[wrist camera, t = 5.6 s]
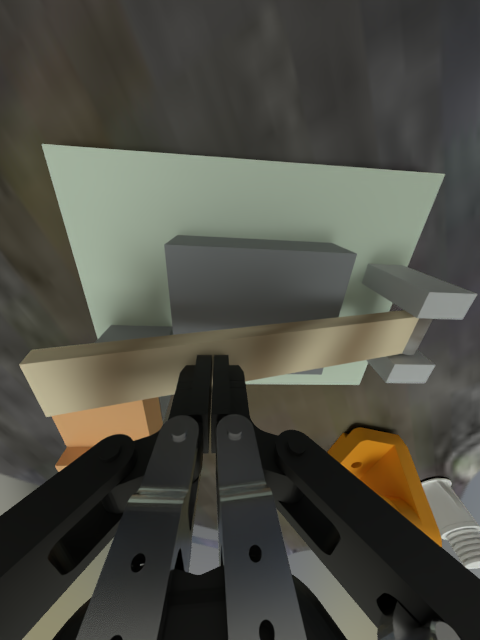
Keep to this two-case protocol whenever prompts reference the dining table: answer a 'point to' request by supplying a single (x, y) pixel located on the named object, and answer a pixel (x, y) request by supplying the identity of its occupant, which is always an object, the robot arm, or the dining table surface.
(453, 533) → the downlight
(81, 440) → the block
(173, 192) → the board
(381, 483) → the bracket
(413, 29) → the dining table surface
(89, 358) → the strap
